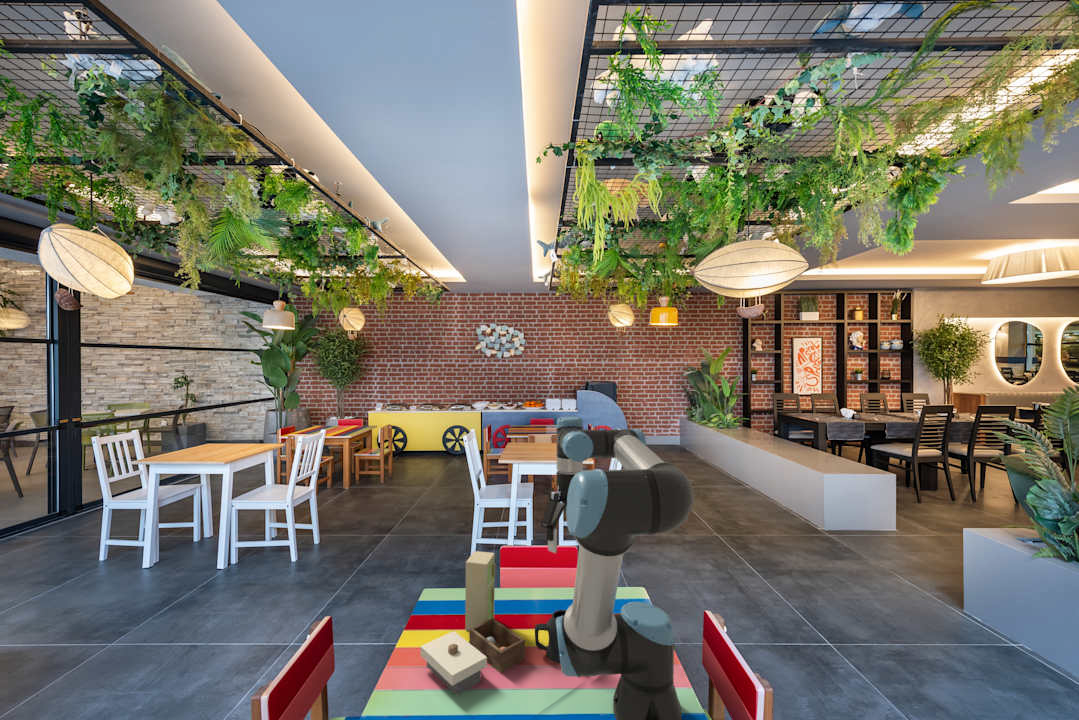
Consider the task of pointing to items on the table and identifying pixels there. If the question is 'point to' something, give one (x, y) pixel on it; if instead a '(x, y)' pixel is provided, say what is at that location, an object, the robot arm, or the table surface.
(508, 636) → the box
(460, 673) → the lid
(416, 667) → the table surface
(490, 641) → the ball bluegrey
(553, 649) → the mug
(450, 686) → the block
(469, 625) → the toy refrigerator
